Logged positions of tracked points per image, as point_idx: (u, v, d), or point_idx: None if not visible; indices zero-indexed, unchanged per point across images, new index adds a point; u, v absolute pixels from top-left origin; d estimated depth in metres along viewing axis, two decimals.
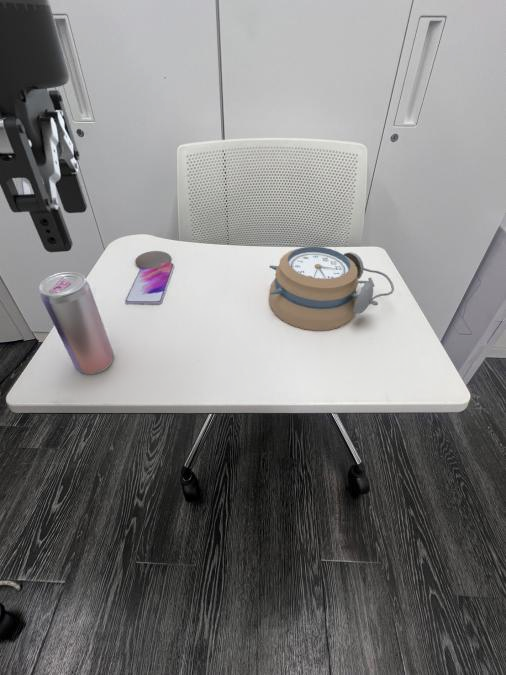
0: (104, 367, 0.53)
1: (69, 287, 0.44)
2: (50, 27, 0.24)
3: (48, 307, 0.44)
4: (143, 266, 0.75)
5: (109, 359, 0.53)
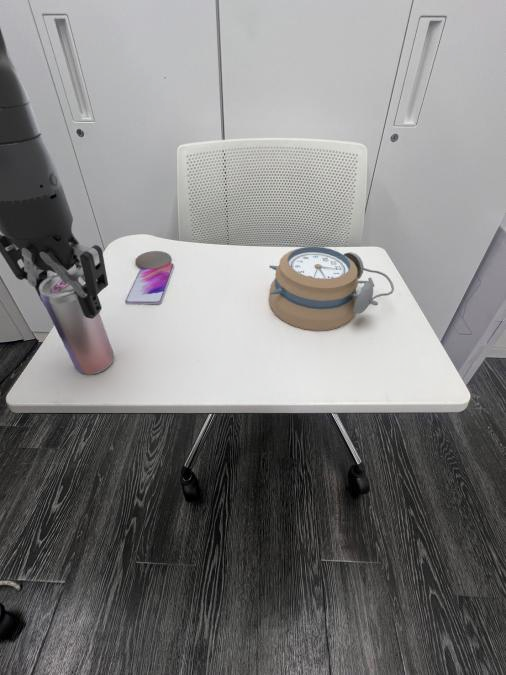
0: (104, 367, 0.53)
1: (69, 287, 0.44)
2: None
3: (48, 307, 0.44)
4: (143, 266, 0.75)
5: (109, 359, 0.53)
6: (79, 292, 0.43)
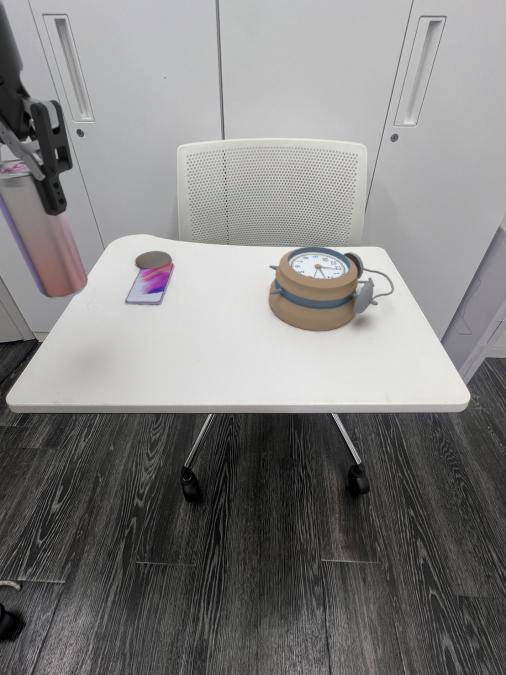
0: (75, 291, 0.43)
1: (24, 170, 0.35)
2: None
3: None
4: (143, 266, 0.75)
5: (81, 282, 0.44)
6: (35, 172, 0.33)
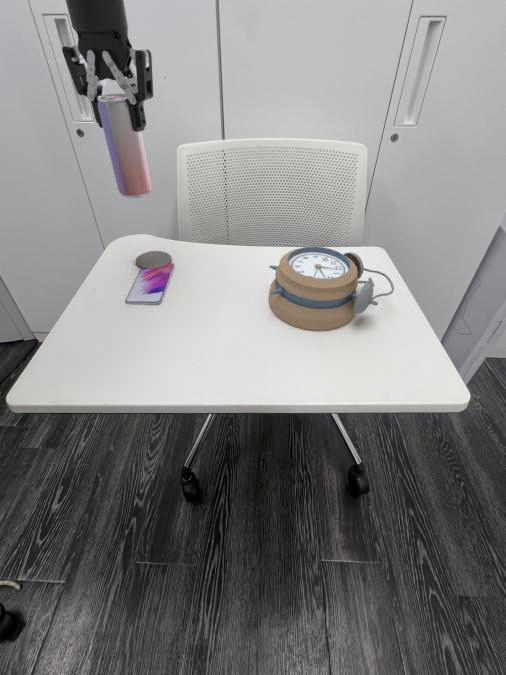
0: (144, 192, 0.62)
1: (121, 98, 0.53)
2: None
3: (104, 115, 0.53)
4: (143, 266, 0.75)
5: (148, 186, 0.63)
6: (130, 98, 0.52)
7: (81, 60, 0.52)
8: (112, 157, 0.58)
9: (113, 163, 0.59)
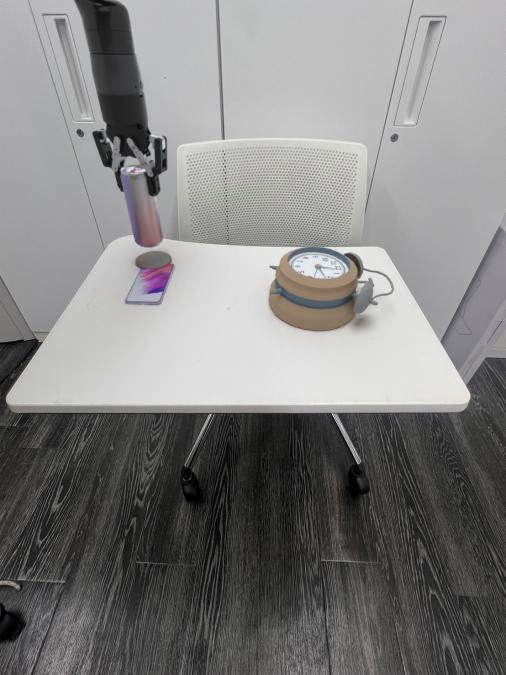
0: (157, 242, 0.73)
1: (140, 171, 0.64)
2: None
3: (126, 184, 0.64)
4: (143, 266, 0.75)
5: (160, 237, 0.73)
6: (148, 172, 0.63)
7: (107, 141, 0.62)
8: (131, 216, 0.68)
9: (131, 220, 0.69)
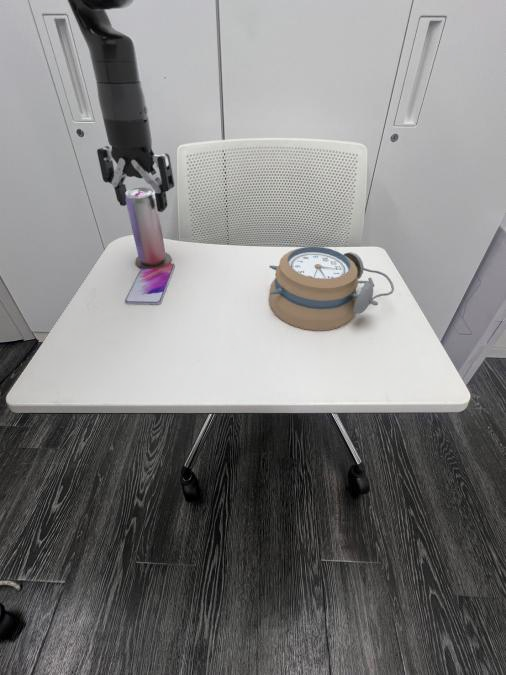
0: (160, 260, 0.75)
1: (145, 194, 0.67)
2: None
3: (131, 207, 0.67)
4: (143, 266, 0.75)
5: (163, 255, 0.76)
6: (156, 189, 0.65)
7: (111, 159, 0.65)
8: (135, 236, 0.71)
9: (136, 240, 0.72)
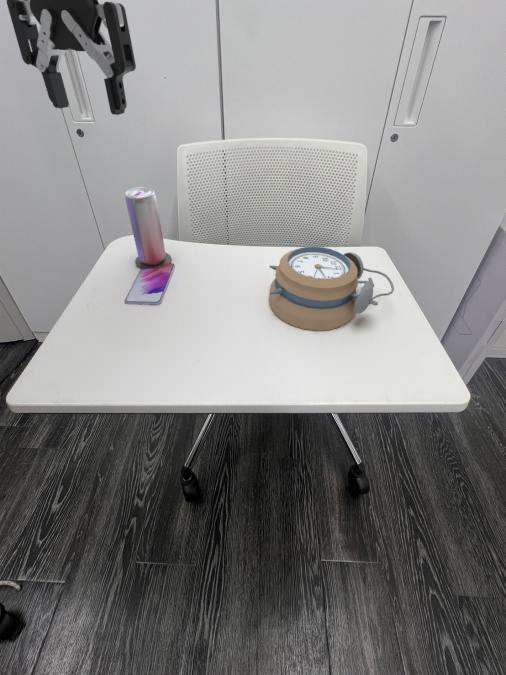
0: (160, 260, 0.75)
1: (145, 194, 0.67)
2: None
3: (131, 207, 0.67)
4: (143, 266, 0.75)
5: (163, 255, 0.76)
6: (105, 69, 0.40)
7: (32, 21, 0.40)
8: (135, 236, 0.71)
9: (136, 240, 0.72)
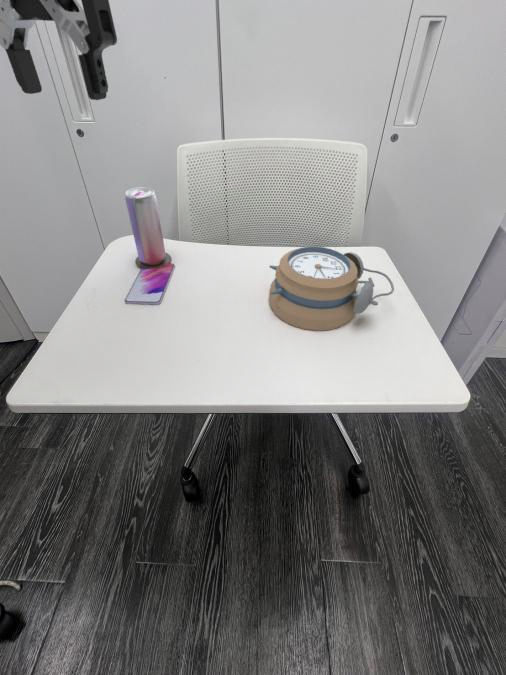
0: (160, 260, 0.75)
1: (145, 194, 0.67)
2: None
3: (131, 207, 0.67)
4: (143, 266, 0.75)
5: (163, 255, 0.76)
6: (79, 43, 0.33)
7: None
8: (135, 236, 0.71)
9: (136, 240, 0.72)
